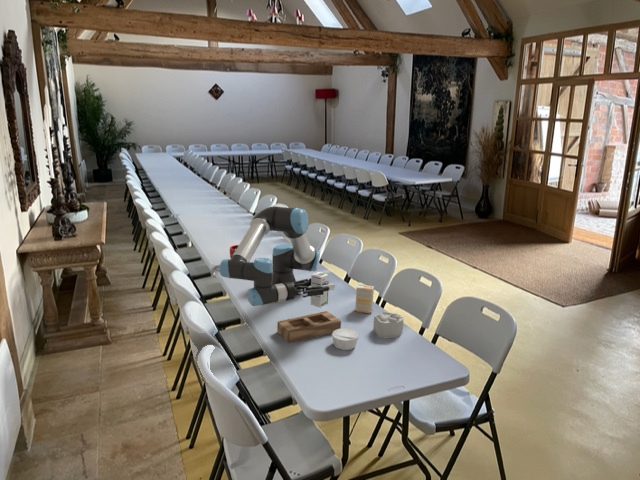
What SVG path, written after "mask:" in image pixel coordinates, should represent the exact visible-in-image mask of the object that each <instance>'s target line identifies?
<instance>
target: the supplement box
mask: <svg viewBox="0 0 640 480" xmlns="http://www.w3.org/2000/svg"><path fill="white" fill-rule="evenodd" d="M374 289H375V286H373V285H366V284H357V285H356V291H355V295H356V296H355V312H356V313H364V314H369V315H370V314H372V312H373V307H374V291H375V290H374Z"/></svg>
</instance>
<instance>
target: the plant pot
mask: <svg viewBox="0 0 640 480" xmlns="http://www.w3.org/2000/svg"><path fill="white" fill-rule="evenodd" d="M238 246H239V244H234V245H231V246H229V259H231V257H232V256H233V254H234V252H235V251H236V249H237V248H238Z"/></svg>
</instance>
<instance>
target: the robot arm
mask: <svg viewBox="0 0 640 480" xmlns="http://www.w3.org/2000/svg"><path fill="white" fill-rule="evenodd" d="M309 221H310V220H309V214H308V211H306V210H305V209H303V208H299V207H296V208H295V207H285V206H269V207H266V208H264V209H262V210H260V211H259V212H258V213H257V214H255V216H253V218H252V219H251V221H250V222H249V224H250V225H249V228H248V230H247V231H246V233H245V235H244V236H243V238H242V240H241V241H240V242H239V244H238V245H239V246H238V248H237V249H235V250H236V251H235V252H234V254H233V256H232V257H231V258H227V259H223V260H221V262H220V263H219V275H220V276H221V277H222V278H226V279H227V278H228V279H234V280H243V281H251V282H253V287H252V288H249V289H248V291H247V300H248V302H249V304H250V306H252V307H259V306H264V305H270V304H275V303H277V304H279V302H280V303H281V302H285V301H291V300H294V299H295V297H296V296H302V298H309V297H311V296H316V295H323V294H324V292H326V291H328V292H330V291H334V290H335V283H329V285H323V286H321V287H311V278H310V277H309V278H305V279H304V278H303V279H300V280H296V277H295V274H294V270H298V271H299V270H300V271H305V272H307V271H308V272H309V273H310V272H316V271H317V270H318V268H319V263H320V258H321V257H320V256H321V252H320V251H319V250H317V249H316V250H315V248H314V247H313V246H312V245H311V244H310V241H309V239H308V236H307V234H306V233H307V231H308V229H309V224H310V222H309ZM272 231H275V232H282V233H283V234H284V236H285V237H287V238H288V239H289V242H290V243H283V244H279V245H276V246H274V247H273V249H272V254H271V255H272V256H271V257H272V259H270V258H267V257H257V258H255V259H254V260H253V261H251V259H252V258H253V256H254V254H255V253H256V251H257V249H258V247H259V245H261V241H262V240H263V239H264V237H265V236H266V235H268V234H269V232H272Z"/></svg>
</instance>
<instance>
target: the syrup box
mask: <svg viewBox="0 0 640 480" xmlns="http://www.w3.org/2000/svg"><path fill="white" fill-rule="evenodd" d="M329 276H330V274H328V273H326V272H322V271H317V272H314V273H313V274H311V276H310V277H311V286H310V287H321V286H323V285H329V284H330V283H329V281H330V277H329ZM328 302H329V291H326V292H324V294H323V295H316V296H310V305H311V306H313V307H316V308H320V309H321V308H323V307H325V306H326V305H328V304H329V303H328Z"/></svg>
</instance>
